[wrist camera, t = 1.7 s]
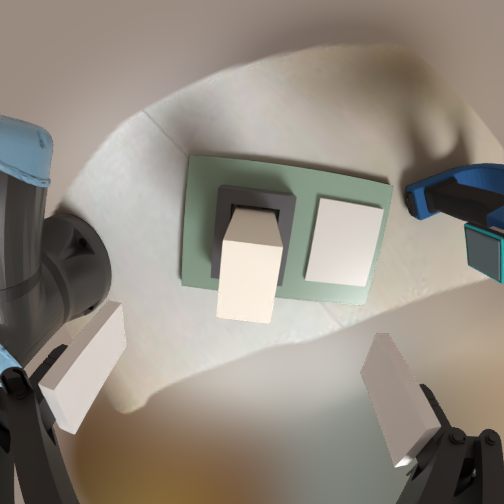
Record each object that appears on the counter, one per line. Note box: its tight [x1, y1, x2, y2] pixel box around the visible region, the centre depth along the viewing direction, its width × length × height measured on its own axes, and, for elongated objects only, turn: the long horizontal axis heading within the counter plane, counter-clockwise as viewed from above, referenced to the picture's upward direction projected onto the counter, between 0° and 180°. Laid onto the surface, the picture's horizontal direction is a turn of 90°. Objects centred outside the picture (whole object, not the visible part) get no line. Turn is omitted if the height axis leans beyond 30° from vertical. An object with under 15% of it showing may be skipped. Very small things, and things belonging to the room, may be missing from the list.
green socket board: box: [182, 155, 394, 305], centre depth 33 cm, size 24×16×4 cm, turn 83°
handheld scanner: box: [405, 163, 504, 284], centre depth 23 cm, size 5×16×20 cm, turn 113°
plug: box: [217, 204, 283, 323], centre depth 27 cm, size 4×6×14 cm, turn 173°
